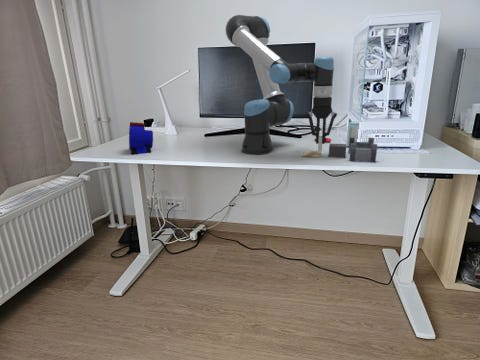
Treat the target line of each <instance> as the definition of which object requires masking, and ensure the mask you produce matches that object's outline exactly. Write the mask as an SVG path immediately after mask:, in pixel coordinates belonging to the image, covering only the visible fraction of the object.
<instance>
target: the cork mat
mask: <svg viewBox="0 0 480 360" xmlns="http://www.w3.org/2000/svg"><path fill="white" fill-rule="evenodd" d="M321 157H322V152H318V150H317V151H315V150H303V151H302V154H301V158H317V159H319V158H321Z"/></svg>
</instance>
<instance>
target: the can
mask: <svg viewBox="0 0 480 360" xmlns="http://www.w3.org/2000/svg"><path fill="white" fill-rule="evenodd" d="M358 129H359V123H358V122H357V120H356V121H354V120H353V121H349V124H348V125H347V134H346V135H347V137H346V147H348V146H349V139H350V137H354V138H355V140H354V142H357V139H358Z"/></svg>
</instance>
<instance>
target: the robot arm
mask: <svg viewBox="0 0 480 360" xmlns="http://www.w3.org/2000/svg"><path fill="white" fill-rule="evenodd" d="M270 32H271V28H270V24H269V22H268V21H267V19H265V18H264V17H262V16H258V15H242V14H236V15H234V16H232V17H230V18H229V19H228V21H227V22H226V25H225V35H226V37H227V39H228V41H230V42H229V43H231V44H232V45H233V46H235V47H237V48H241V50H243V52H244V53H246V54H247V55H248V56H249V57H250V58H251V59H252V63H253V65H254V70H255V73H256V77H257V80H258V83H259V86H260V89H261V93H262V96H263V98H262V99H254V100H250V101H248V102H246V103H245V105H244V107H243V108H244V111H243V115H244V117H243V118H244V136H243V137H244V138H243V141H242V144H241V152H243V153H245V154H250V155H263V154H264V155H265V154H270V153H272V152H273V151H274V145H273V141H272V138H271V135H270V134H271V133H270V128H271V127H274V126H279V125H281V126H282V125H284V124H287V123H289V122H290V121H291V119H292V118H293V115H294V111H295V110H294V109H295V108H294V104H293V103H292V101H291V100H290V99H287V98H286V95H285V93H284V92H282V91H281V89H280V86H279V85H284V84H291V83H292V84H293V83H303V82H311V83H313V96H314V97H313V103H312V109H311V111H310V112H307V113H306V117H307V118H308V122H309V126H310V132H311V135H312V136H315V138H316V141H315V144H316V145H317V151H318V152H321V153H322V151H323V145H324V144H326V143H325V136H326V137H327V136H330V134H331V132H332V131H331V130H332V127H333V124H334V121H335V119H336V118H337V117H338V113H337V112H335V111H333V108H332V101H333V100H332V99H333V98H332V95H333V79H334V71H335V70H334V69H335V67H334V66H335V63H334V62H335V61H334V58H333V57H332V56H322V57H321V56H320V57H315V59H314V62H298V63H288V62H286V61H285V60H284V59H282V57H280V55H278V54H277V53H276V52H274V51H273V50H272V49H271V48H269V47H268V43H269V38H270V35H271V34H270ZM313 115H314V117H315V119H316V127H315V126H314V120H313ZM329 116H330V117H331V118H330V122H329V125H328V128H327V119H328V118H329ZM321 120H322V132H321V133H322V134H321V135H320V127H321V126H320V125H321V123H320V122H321ZM315 128H316V131H315ZM326 128H327V131H326Z"/></svg>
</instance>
